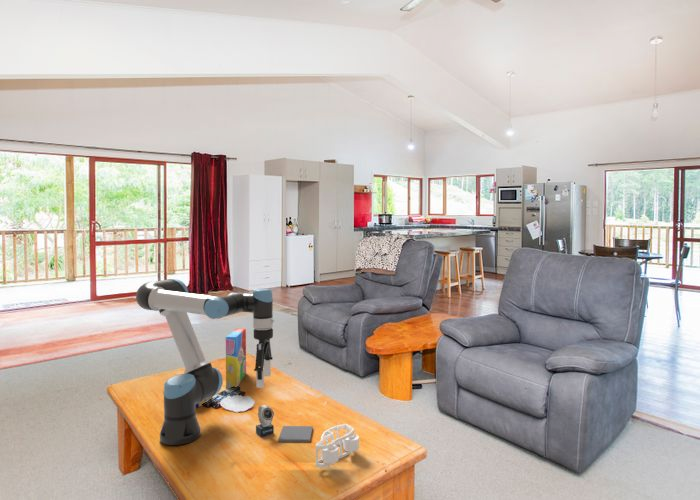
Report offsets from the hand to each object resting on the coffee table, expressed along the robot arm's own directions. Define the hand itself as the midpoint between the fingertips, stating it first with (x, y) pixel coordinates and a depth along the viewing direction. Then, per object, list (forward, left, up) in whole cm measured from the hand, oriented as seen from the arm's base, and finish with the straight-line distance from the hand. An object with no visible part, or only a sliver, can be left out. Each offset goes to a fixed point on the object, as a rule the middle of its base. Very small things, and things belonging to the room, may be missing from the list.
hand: (263, 381), depth 182 cm
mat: (+13, -2, -21) cm, 24 cm away
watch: (0, -1, -21) cm, 21 cm away
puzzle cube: (-38, +32, -21) cm, 54 cm away
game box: (-26, +59, -21) cm, 67 cm away
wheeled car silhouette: (+29, -18, -21) cm, 40 cm away
